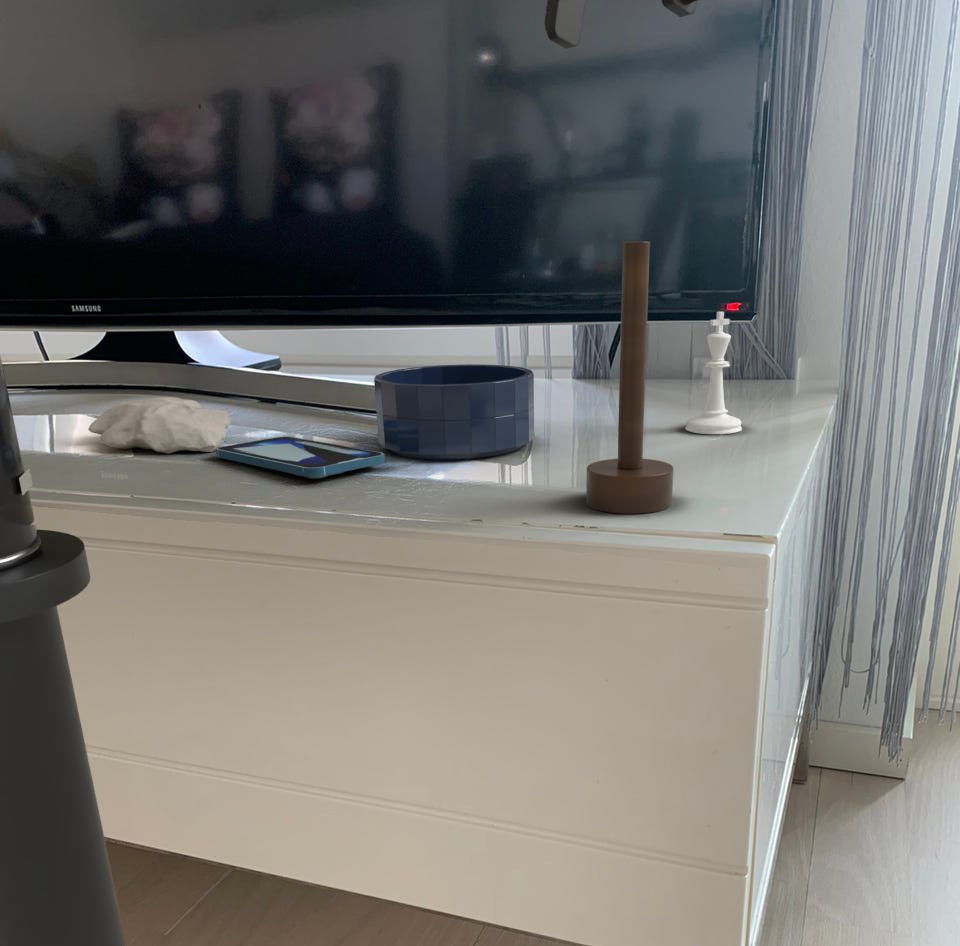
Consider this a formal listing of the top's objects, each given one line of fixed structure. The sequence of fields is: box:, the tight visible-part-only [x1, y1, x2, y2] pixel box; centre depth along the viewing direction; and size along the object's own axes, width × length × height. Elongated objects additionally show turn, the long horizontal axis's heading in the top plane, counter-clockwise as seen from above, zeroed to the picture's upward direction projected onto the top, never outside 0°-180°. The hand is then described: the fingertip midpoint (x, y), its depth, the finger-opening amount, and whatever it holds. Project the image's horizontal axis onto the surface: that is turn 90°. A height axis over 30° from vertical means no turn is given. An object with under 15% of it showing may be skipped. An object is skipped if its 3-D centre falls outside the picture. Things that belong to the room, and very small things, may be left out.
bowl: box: [373, 363, 535, 461], centre depth 83 cm, size 13×13×6 cm
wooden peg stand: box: [585, 241, 674, 515], centre depth 62 cm, size 6×6×16 cm
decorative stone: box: [88, 396, 231, 454], centre depth 89 cm, size 11×4×15 cm
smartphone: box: [215, 436, 386, 480], centre depth 79 cm, size 7×1×15 cm
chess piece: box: [684, 311, 743, 435], centre depth 86 cm, size 5×5×10 cm
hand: (616, 27), depth 56 cm, fingers open, 8 cm apart
